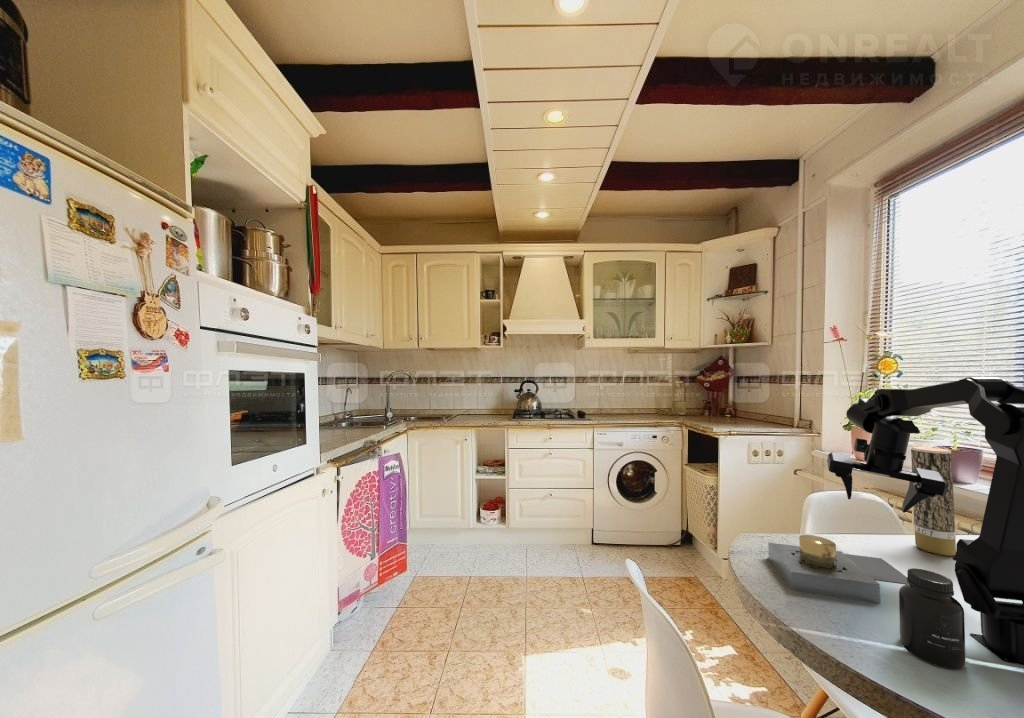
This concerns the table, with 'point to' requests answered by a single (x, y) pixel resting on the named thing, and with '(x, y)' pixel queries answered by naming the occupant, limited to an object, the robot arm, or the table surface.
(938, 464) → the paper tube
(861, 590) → the housing
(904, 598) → the supplement bottle
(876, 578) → the rubber mat
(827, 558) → the end cover
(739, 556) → the table surface
